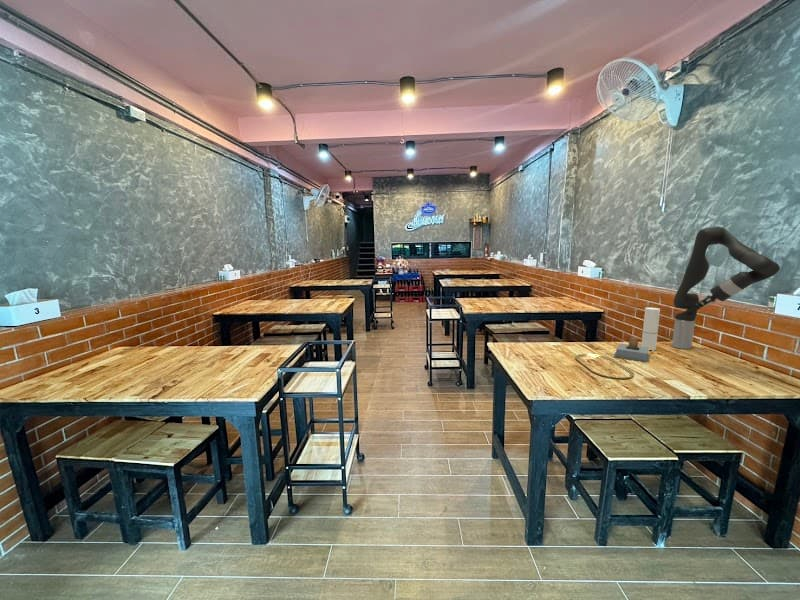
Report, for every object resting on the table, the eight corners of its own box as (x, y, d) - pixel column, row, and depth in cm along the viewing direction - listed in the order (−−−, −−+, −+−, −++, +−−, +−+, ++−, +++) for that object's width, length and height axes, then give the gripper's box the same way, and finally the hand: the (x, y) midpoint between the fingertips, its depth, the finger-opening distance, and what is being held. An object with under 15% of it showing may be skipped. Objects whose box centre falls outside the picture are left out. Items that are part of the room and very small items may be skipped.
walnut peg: (628, 353, 192) (629, 337, 191) (636, 354, 190) (638, 338, 188) (627, 355, 189) (629, 339, 188) (636, 356, 187) (637, 340, 185)
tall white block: (655, 348, 203) (659, 308, 199) (656, 351, 197) (660, 310, 193) (640, 347, 207) (644, 307, 203) (641, 350, 201) (645, 309, 197)
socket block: (616, 350, 201) (617, 342, 200) (649, 355, 191) (650, 347, 190) (613, 357, 188) (614, 349, 188) (649, 363, 179) (649, 354, 178)
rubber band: (603, 356, 191) (603, 354, 191) (642, 380, 157) (643, 377, 156) (569, 356, 193) (569, 353, 192) (600, 380, 158) (601, 376, 158)
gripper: (722, 282, 170) (690, 302, 180) (716, 285, 161) (683, 305, 172) (735, 294, 166) (702, 313, 177) (729, 297, 158) (695, 317, 168)
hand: (692, 309), depth 174 cm, fingers open, 8 cm apart
